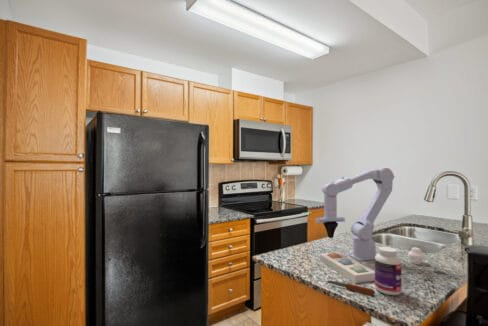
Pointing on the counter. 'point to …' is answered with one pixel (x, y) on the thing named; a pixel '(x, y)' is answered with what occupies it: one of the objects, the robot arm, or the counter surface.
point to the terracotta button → (334, 255)
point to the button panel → (348, 268)
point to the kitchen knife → (354, 287)
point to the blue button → (346, 262)
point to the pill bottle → (388, 271)
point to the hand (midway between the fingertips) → (330, 237)
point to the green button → (358, 269)
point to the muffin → (416, 255)
